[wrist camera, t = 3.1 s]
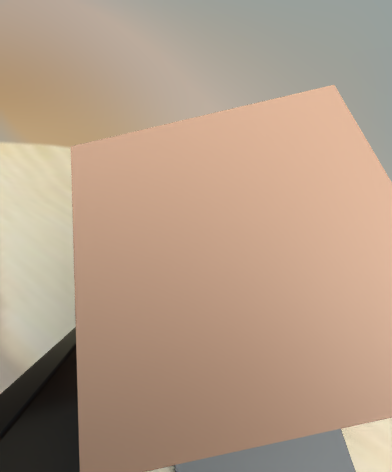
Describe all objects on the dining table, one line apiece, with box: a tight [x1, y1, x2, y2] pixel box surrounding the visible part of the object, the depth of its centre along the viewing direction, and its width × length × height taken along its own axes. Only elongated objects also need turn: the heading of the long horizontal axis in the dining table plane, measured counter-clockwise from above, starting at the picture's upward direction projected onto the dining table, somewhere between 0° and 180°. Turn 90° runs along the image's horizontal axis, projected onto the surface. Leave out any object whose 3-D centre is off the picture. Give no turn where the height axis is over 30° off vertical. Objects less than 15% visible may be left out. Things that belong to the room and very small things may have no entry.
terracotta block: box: [71, 85, 392, 472], centre depth 10 cm, size 5×5×14 cm
